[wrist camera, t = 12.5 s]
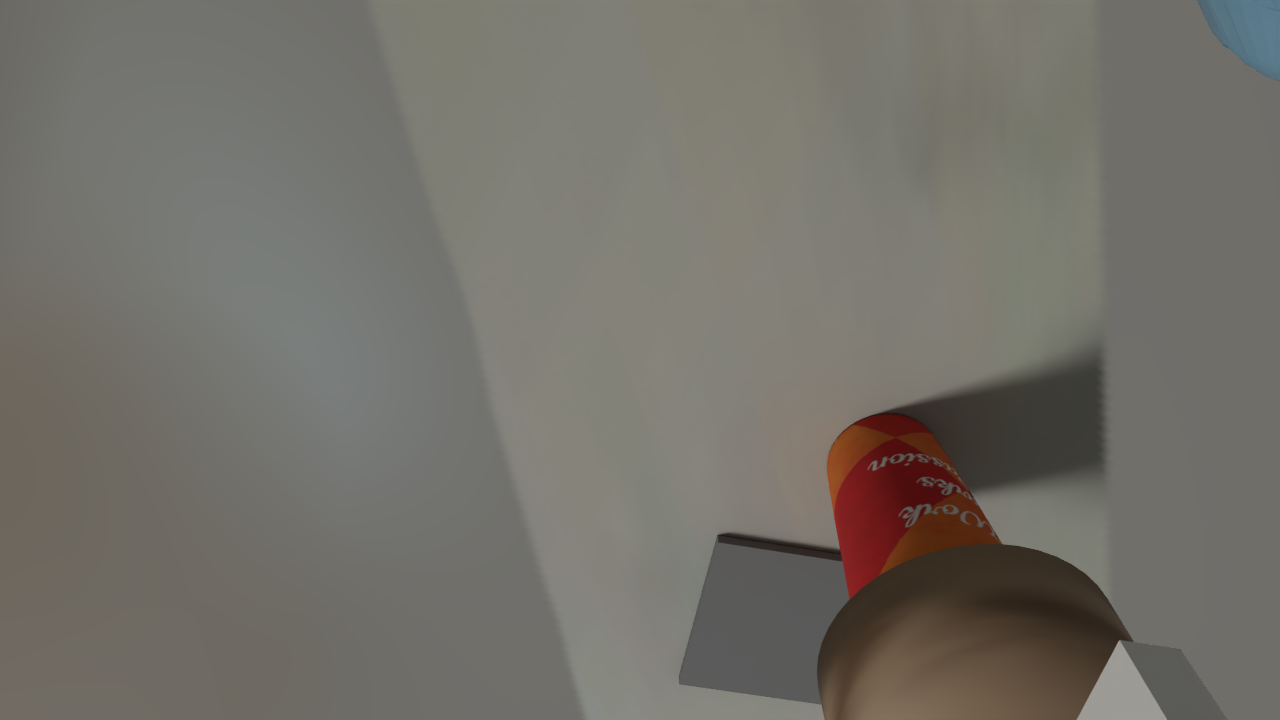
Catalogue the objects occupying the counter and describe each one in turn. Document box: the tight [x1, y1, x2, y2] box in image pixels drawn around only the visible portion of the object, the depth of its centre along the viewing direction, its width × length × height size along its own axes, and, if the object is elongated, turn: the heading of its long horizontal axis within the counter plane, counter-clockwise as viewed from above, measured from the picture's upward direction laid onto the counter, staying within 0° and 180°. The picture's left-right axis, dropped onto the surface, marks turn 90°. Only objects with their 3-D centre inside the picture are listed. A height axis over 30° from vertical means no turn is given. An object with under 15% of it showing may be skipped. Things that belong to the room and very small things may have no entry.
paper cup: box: [827, 414, 1002, 599], centre depth 43 cm, size 8×8×14 cm
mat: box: [679, 535, 849, 704], centre depth 54 cm, size 10×10×1 cm
